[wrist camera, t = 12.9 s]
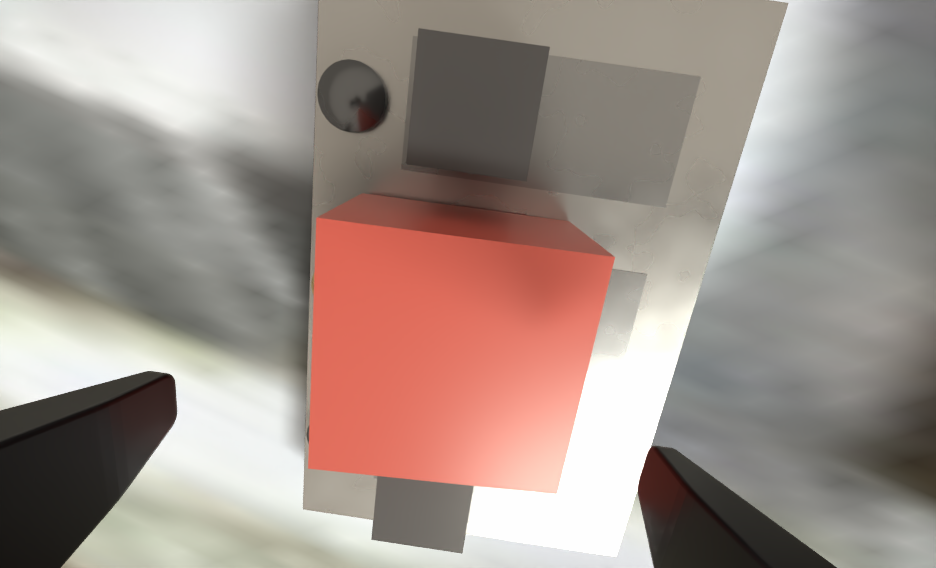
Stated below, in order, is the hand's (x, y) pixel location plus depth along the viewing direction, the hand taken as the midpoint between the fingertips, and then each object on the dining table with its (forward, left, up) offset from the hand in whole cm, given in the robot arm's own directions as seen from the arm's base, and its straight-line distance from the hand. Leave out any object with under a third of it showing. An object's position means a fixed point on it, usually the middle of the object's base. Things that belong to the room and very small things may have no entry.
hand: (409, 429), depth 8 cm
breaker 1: (0, +6, -7) cm, 9 cm away
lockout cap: (0, 0, -7) cm, 7 cm away
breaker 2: (0, -6, -7) cm, 9 cm away
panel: (-2, 0, -9) cm, 9 cm away
